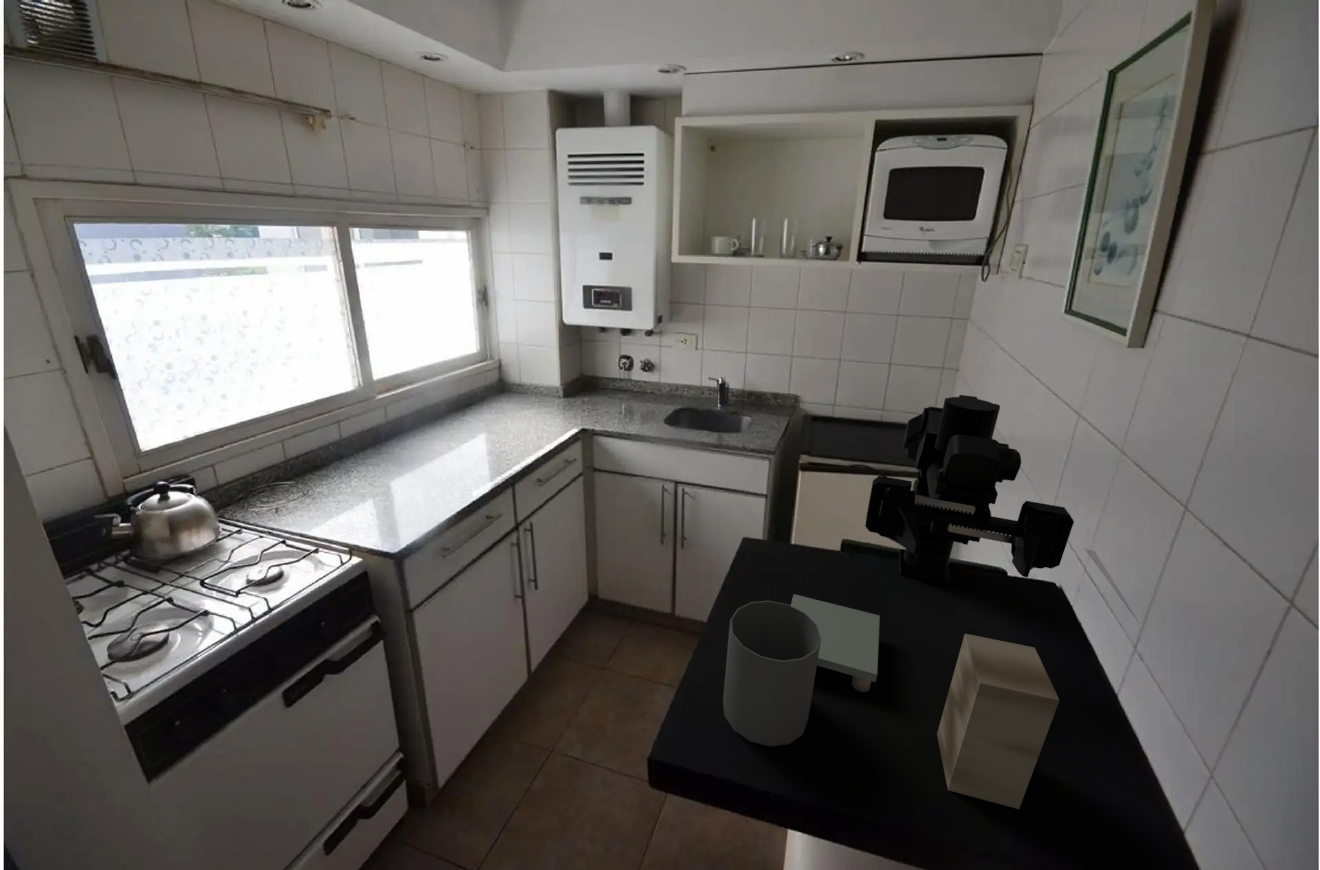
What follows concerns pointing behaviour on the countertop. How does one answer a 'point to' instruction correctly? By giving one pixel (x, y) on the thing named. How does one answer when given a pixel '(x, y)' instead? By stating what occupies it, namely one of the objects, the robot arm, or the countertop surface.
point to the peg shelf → (845, 639)
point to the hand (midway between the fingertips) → (970, 560)
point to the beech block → (995, 720)
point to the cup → (770, 672)
